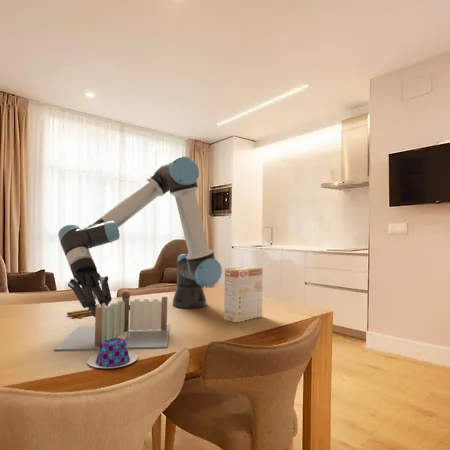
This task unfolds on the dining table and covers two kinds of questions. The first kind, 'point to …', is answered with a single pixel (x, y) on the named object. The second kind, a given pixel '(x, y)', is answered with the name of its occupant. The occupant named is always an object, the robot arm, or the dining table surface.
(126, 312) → the hinge post
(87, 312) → the decorative fence
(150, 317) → the fixed panel
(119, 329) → the panel
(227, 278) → the coffeecake box
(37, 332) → the dining table surface
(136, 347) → the card
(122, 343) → the pudding
